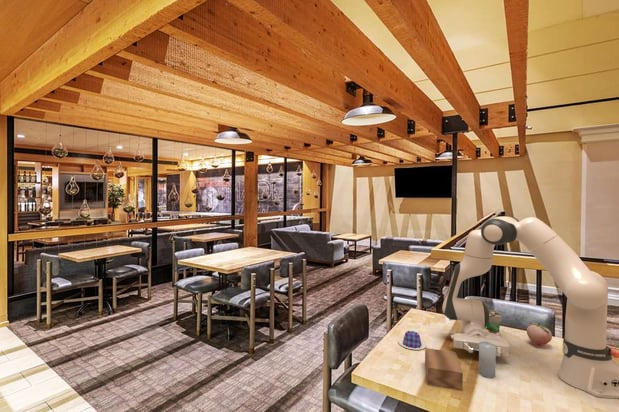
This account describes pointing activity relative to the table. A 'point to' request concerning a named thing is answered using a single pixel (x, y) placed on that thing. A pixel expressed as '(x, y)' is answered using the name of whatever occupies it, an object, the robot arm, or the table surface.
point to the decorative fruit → (539, 334)
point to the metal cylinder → (487, 359)
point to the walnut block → (443, 369)
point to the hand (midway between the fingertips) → (484, 352)
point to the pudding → (412, 341)
